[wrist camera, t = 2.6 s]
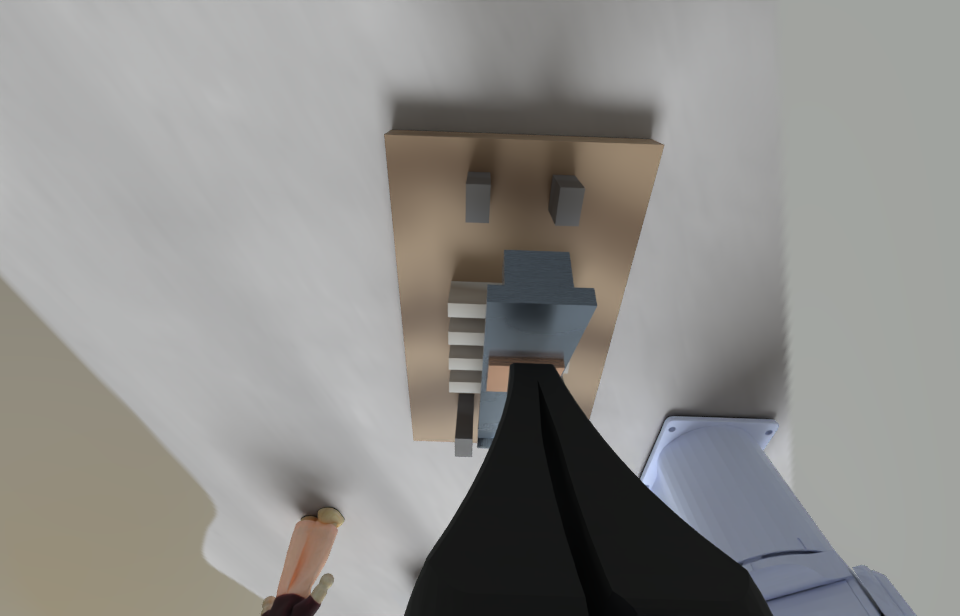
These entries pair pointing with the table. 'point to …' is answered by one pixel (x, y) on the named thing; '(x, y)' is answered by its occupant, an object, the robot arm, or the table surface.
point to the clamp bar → (529, 325)
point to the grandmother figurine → (305, 566)
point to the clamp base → (504, 226)
